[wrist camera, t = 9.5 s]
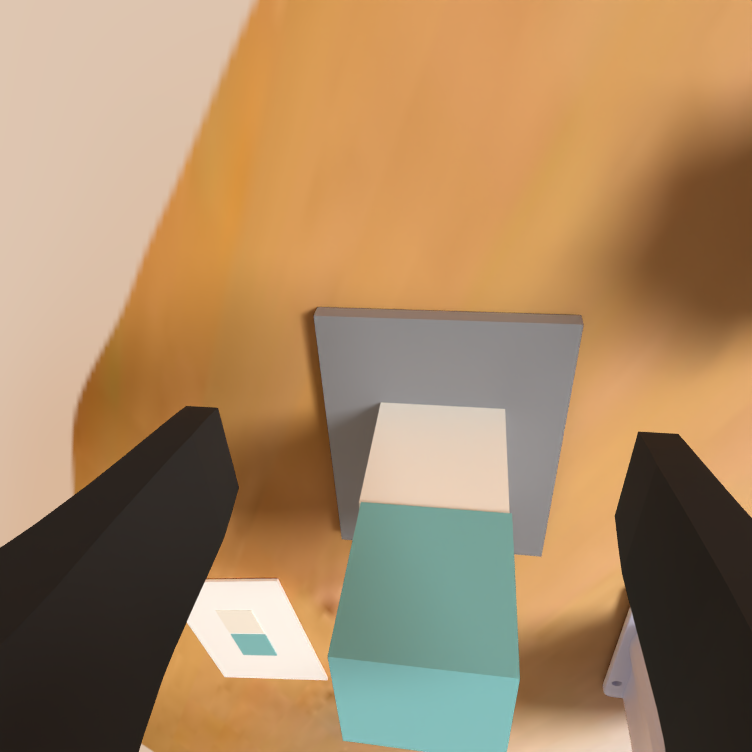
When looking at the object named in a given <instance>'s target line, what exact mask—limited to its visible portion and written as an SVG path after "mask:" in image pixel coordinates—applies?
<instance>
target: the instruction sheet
mask: <svg viewBox="0 0 752 752" xmlns="http://www.w3.org/2000/svg"><path fill="white" fill-rule="evenodd" d="M187 623H188V624H189V626H190V627H191V629H192V630H193V632H194V633H195V635H196V636H197V637H198V639H199V640H200V642H201V643H202V645H203V646H204V648H205V649H206V651H207V652H208V653H209V655H210V656H211V658H212V659H213V661H214V662H215V664H216V665H217V667H218V668H219V669H220V671H221V672H222V674H223V675H224V677H240V678H273V679H305V680H328V677H327V675H326V673H325V671H324V669H323V667H322V665H321V663H320V661H319V659H318V657H317V655H316V653H315V651H314V649H313V647H312V645H311V643H310V641H309V639H308V637H307V635H306V633H305V631H304V629H303V627H302V625H301V623H300V621H299V619H298V617H297V615H296V613H295V611H294V609H293V607H292V605H291V603H290V602H289V600H288V598H287V596H286V594H285V592H284V590H283V588H282V586H281V584H280V582H279V580H278V578H272V579H206V580H205V582H204V585H203V587H202V589H201V591H200V594H199V596H198V598H197V600H196V602H195V605H194V607H193V609H192V611H191V614H190V616H189V618H188V620H187Z"/></svg>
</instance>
